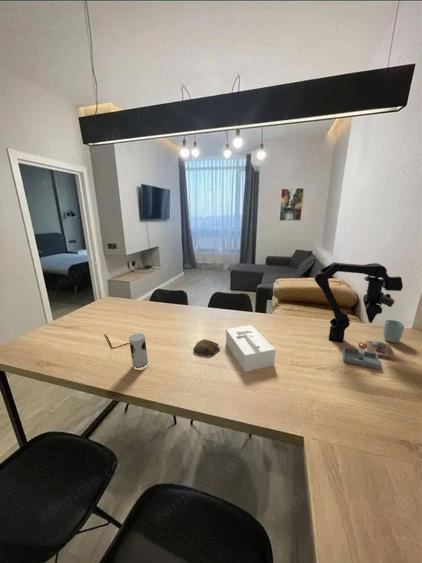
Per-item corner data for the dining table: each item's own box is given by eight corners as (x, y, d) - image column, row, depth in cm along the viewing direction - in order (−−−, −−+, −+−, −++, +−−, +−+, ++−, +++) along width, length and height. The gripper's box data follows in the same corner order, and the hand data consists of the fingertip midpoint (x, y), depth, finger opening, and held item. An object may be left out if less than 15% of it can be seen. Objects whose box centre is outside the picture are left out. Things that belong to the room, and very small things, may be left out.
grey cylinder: (149, 361, 115) (146, 333, 110) (146, 370, 108) (142, 340, 104) (135, 361, 115) (131, 333, 111) (131, 370, 108) (126, 341, 104)
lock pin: (356, 360, 110) (359, 345, 107) (355, 356, 112) (358, 342, 110) (364, 361, 108) (367, 347, 106) (363, 357, 111) (366, 343, 109)
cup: (403, 345, 121) (407, 327, 118) (386, 343, 123) (389, 326, 120) (395, 337, 128) (399, 320, 126) (379, 336, 130) (382, 319, 127)
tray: (343, 362, 109) (344, 357, 109) (342, 351, 118) (343, 346, 117) (379, 369, 104) (380, 364, 103) (375, 357, 112) (376, 353, 111)
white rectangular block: (250, 339, 132) (251, 320, 129) (274, 366, 109) (275, 344, 106) (226, 343, 128) (225, 325, 125) (244, 372, 105) (245, 350, 102)
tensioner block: (368, 355, 114) (369, 350, 113) (365, 342, 124) (366, 338, 124) (394, 360, 110) (395, 355, 109) (389, 346, 120) (390, 342, 119)
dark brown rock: (190, 352, 121) (189, 344, 120) (202, 341, 131) (202, 333, 130) (212, 359, 115) (212, 350, 114) (223, 346, 126) (223, 338, 124)
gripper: (398, 298, 106) (392, 330, 110) (391, 286, 121) (385, 314, 126) (368, 294, 111) (363, 325, 115) (365, 283, 126) (361, 311, 131)
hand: (369, 318), depth 122 cm, fingers open, 9 cm apart
